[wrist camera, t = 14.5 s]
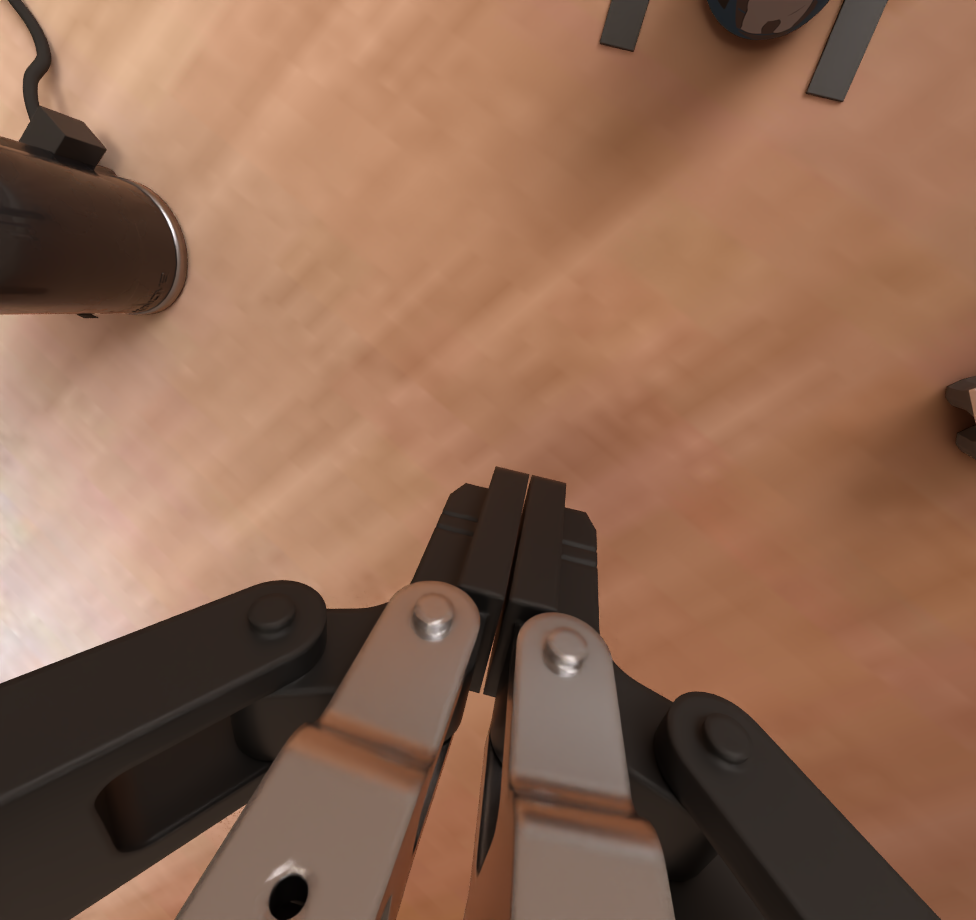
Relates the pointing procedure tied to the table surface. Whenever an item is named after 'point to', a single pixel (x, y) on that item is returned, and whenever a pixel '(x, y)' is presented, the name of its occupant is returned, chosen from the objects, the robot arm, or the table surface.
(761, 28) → the soda can
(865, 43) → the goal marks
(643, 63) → the table surface
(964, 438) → the giant panda
